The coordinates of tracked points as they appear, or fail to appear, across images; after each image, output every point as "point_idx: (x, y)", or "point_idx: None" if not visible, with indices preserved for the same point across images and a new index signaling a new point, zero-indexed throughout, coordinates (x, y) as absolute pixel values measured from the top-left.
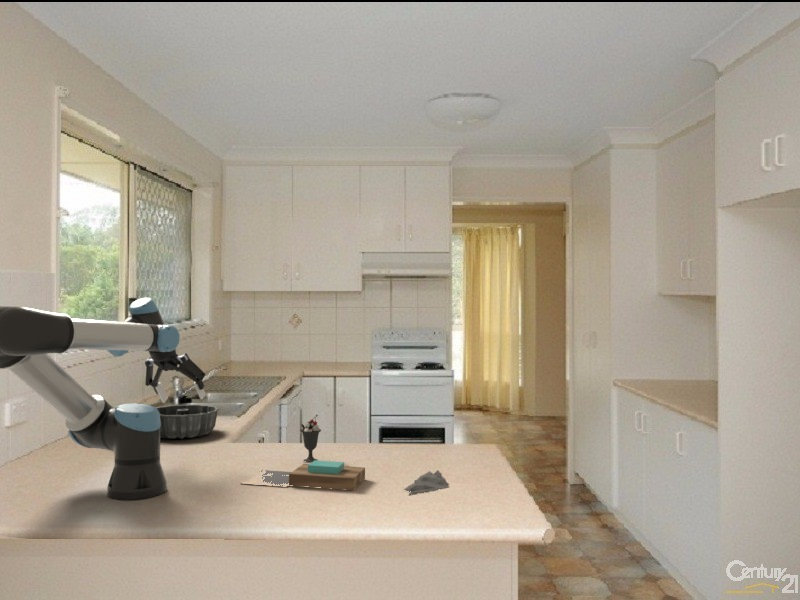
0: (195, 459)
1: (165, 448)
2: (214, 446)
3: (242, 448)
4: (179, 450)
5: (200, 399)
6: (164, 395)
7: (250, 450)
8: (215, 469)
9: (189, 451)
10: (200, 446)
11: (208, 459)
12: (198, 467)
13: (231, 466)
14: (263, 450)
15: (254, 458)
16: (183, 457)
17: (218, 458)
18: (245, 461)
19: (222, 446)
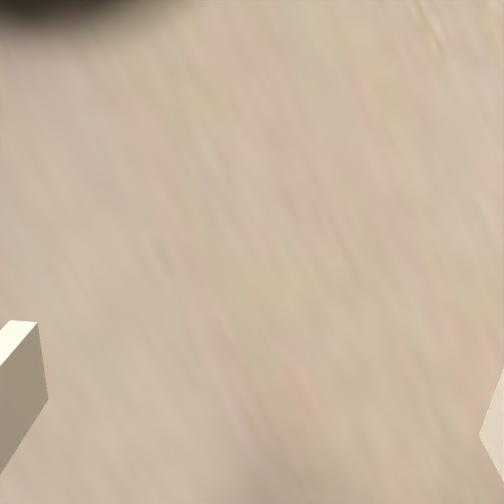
0: (262, 297)
1: (25, 114)
2: (242, 51)
3: (377, 75)
4: (113, 145)
5: (480, 437)
6: (7, 407)
7: (424, 107)
8: (414, 442)
9: (170, 158)
10: (178, 57)
11: (317, 287)
12: (334, 426)
13: (455, 383)
14: (474, 101)
15: (491, 240)
16: (193, 271)
17: (351, 263)
18: (476, 294)
19: (277, 47)
